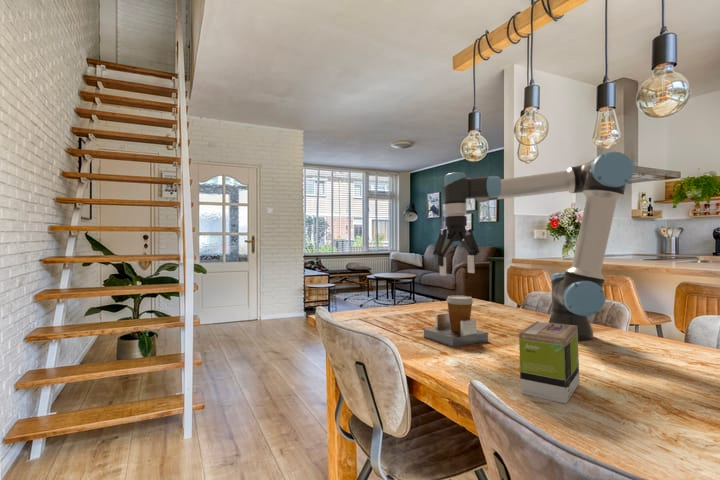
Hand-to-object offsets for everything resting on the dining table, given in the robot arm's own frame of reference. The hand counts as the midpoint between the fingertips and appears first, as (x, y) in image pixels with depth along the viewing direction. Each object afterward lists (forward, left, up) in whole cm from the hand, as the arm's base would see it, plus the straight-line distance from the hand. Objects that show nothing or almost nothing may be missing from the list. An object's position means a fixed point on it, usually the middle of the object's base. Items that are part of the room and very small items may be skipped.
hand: (457, 274), depth 141 cm
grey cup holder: (0, +2, -23) cm, 23 cm away
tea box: (-47, +14, -24) cm, 54 cm away
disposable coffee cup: (-1, 0, -21) cm, 21 cm away
